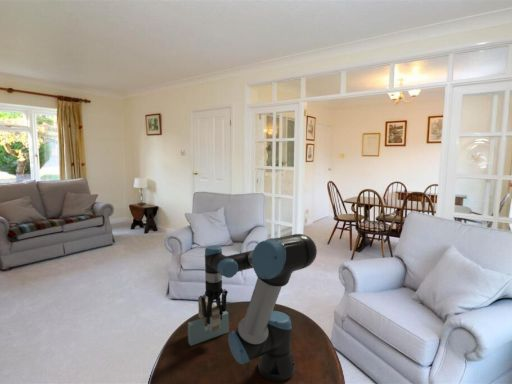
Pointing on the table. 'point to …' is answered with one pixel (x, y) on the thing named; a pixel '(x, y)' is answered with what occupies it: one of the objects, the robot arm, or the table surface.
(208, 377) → the table surface
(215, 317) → the beige bar
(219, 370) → the table surface
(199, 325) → the base plate
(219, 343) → the table surface
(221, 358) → the table surface
